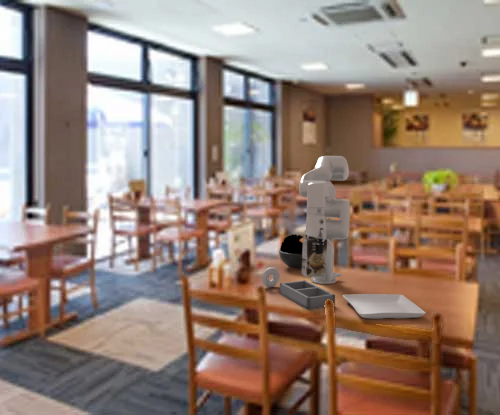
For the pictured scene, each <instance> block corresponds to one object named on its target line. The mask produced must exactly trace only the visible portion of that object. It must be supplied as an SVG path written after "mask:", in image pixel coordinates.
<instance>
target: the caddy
mask: <svg viewBox="0 0 500 415" xmlns="http://www.w3.org/2000/svg"><path fill="white" fill-rule="evenodd" d="M279 294H280V295H281V296H283V297H285V298H287V299H288V300H290V301H292V302H293V303H295V304H297V305H299V306H300V307H302V308H304V309H306V310H315V309H316V310H317V309H325V308H324V305H325V301H326V300H327V299H330V300H332V301H333V303H334V305H335V304H336V294H335V293H333V292H330V291H328V290H326V289H324V288H322V287H320V286H318V285H316V284H315V283H313V282H309V281H308V280H306V279H305V280H297V281H289V282H288V281H287V282H280V283H279Z"/></svg>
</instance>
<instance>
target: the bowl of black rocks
mask: <svg viewBox="0 0 500 415" xmlns="http://www.w3.org/2000/svg"><path fill="white" fill-rule="evenodd" d="M303 238H305V236H303V235H300V234H298V235H297V233H296V234H294V233H293V234H288V235H287V236H286V237H284V238H283V241H282V242H281V245H280V249H278V252H279V253H278V254H279V257H280V259H281V261H282V262H283V264H285V265H286V266H287V267H288V268H291V269H295V270H297V269H298V270H299V269H302V252H303V241H301V239H302V240H303Z"/></svg>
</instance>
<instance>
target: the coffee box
mask: <svg viewBox="0 0 500 415" xmlns="http://www.w3.org/2000/svg"><path fill="white" fill-rule="evenodd" d="M318 240H319V241H320V239H318ZM302 243H303V252H302V268H301V275H303V276H304V277H306V278H312V277H319V276H326V260H327V239H325V242H324V245H323V254H316V245H317V242H316V238H306V237H303V238H302Z"/></svg>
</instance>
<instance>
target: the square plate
mask: <svg viewBox="0 0 500 415" xmlns="http://www.w3.org/2000/svg"><path fill="white" fill-rule="evenodd" d="M342 297H343V298H344V299H345V300H346V301H347V302H348V304H349V305H350V306H352V307H353V309H354V310H355V312H356V313H358V315H359V316H360V317H362V318H363V319H370V320H374V319H375V320H376V319H377V320H382V319H383V318H395V319H411V318H412V319H413V318H420V317H421V318H422V317H423V316H424V315H426V314H427V312H426V311H424V310H423V309H422V308H421V307H420V306H418V305H416V304H415V303H414V302H413V301H411V300H410V299H408V298H407V297H406V296H405V295H403V294H394V293H393V294H392V293H391V294H389V293H358V294H357V293H355V294H342ZM383 320H384V319H383Z"/></svg>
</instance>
